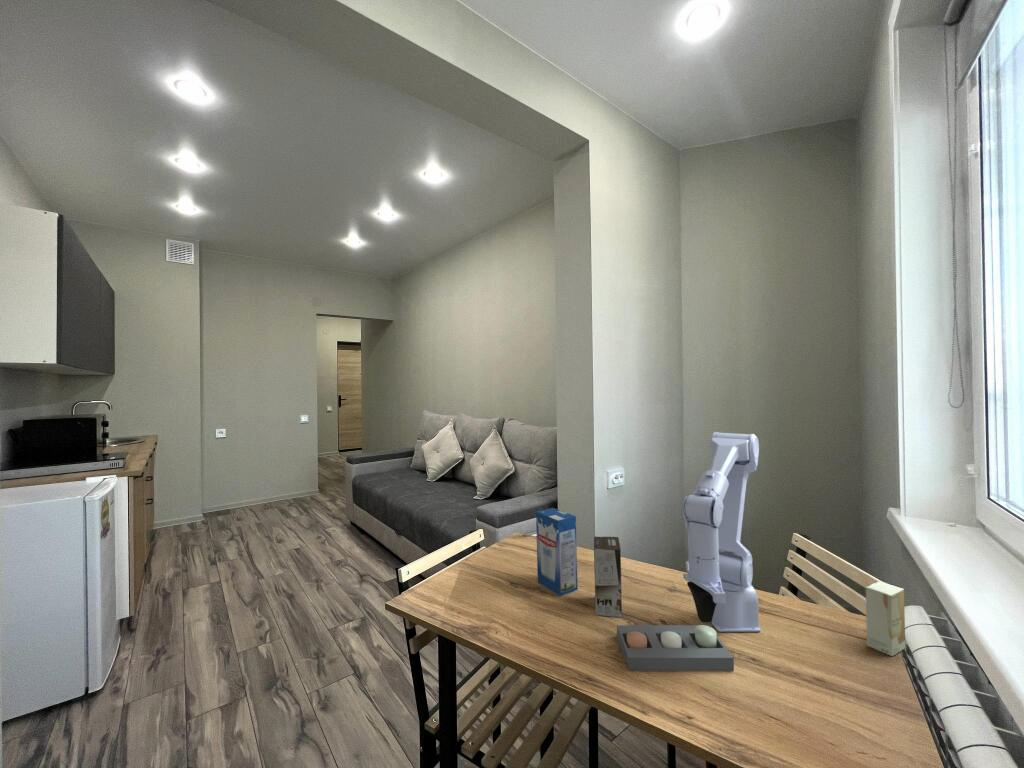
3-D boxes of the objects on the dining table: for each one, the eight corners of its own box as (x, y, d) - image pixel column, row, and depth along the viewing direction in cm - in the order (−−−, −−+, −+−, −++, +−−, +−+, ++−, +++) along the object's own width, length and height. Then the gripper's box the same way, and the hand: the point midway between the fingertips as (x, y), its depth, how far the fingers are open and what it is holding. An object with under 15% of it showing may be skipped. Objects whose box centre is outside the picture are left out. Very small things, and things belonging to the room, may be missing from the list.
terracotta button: (644, 645, 89) (643, 631, 89) (649, 657, 85) (649, 642, 85) (625, 645, 89) (624, 631, 89) (629, 657, 85) (629, 642, 85)
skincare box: (892, 657, 83) (890, 596, 83) (865, 646, 87) (864, 587, 87) (907, 647, 86) (905, 588, 86) (880, 636, 90) (879, 579, 90)
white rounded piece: (677, 645, 88) (677, 631, 88) (684, 657, 84) (684, 642, 84) (658, 645, 89) (658, 631, 89) (664, 657, 85) (664, 642, 85)
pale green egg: (711, 639, 88) (711, 625, 88) (720, 651, 84) (719, 636, 84) (692, 639, 88) (691, 625, 88) (699, 651, 84) (699, 636, 84)
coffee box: (622, 617, 100) (621, 550, 100) (595, 615, 101) (593, 548, 101) (620, 598, 109) (619, 536, 109) (595, 596, 110) (593, 535, 110)
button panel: (709, 636, 92) (709, 625, 92) (734, 670, 81) (733, 657, 81) (616, 636, 92) (616, 625, 92) (628, 670, 81) (628, 657, 81)
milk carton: (577, 590, 114) (576, 516, 114) (560, 596, 110) (558, 520, 110) (554, 576, 122) (553, 507, 122) (537, 582, 119) (535, 511, 119)
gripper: (671, 541, 94) (673, 602, 94) (697, 569, 79) (699, 642, 79) (703, 541, 93) (705, 602, 93) (736, 569, 79) (737, 642, 79)
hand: (705, 620), depth 86 cm, fingers closed
